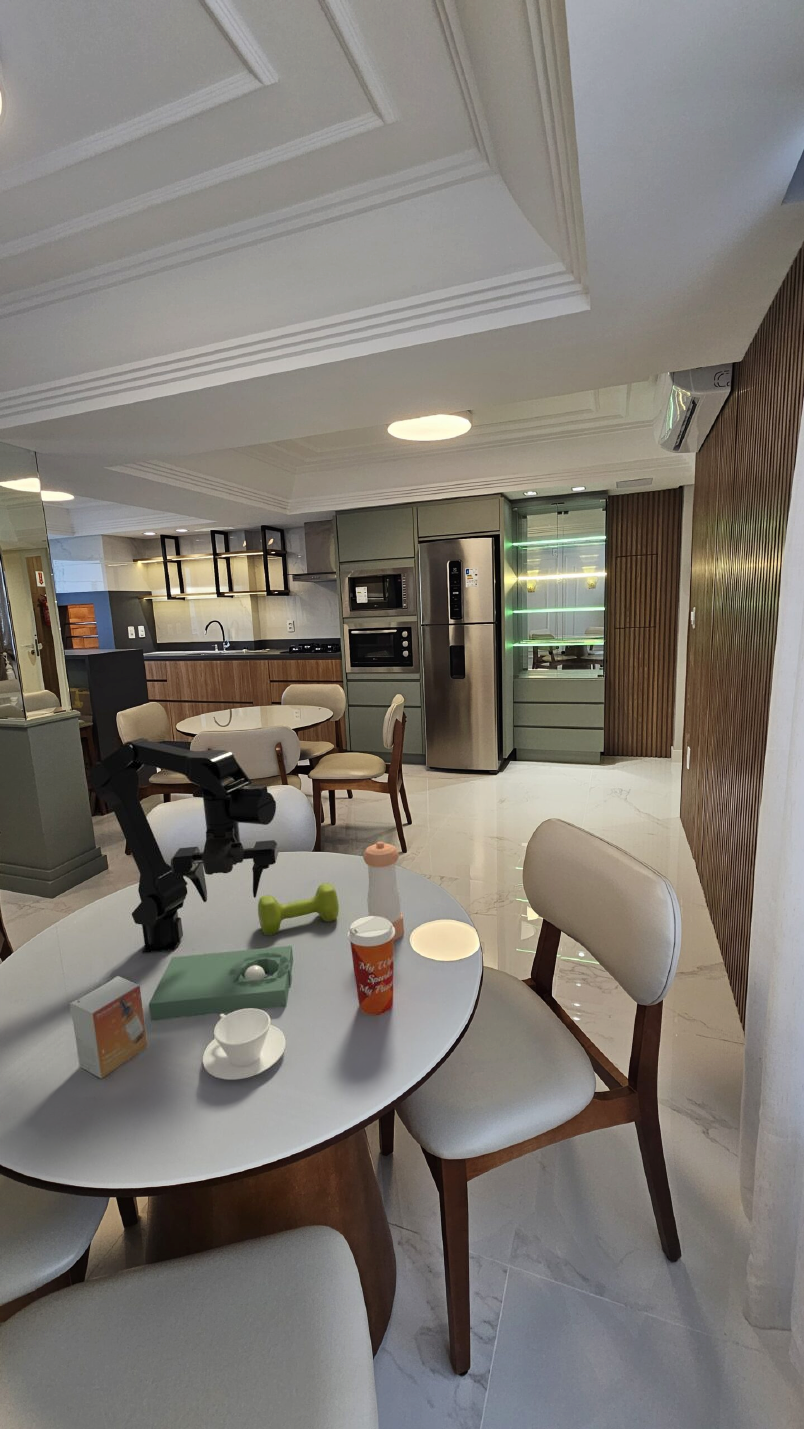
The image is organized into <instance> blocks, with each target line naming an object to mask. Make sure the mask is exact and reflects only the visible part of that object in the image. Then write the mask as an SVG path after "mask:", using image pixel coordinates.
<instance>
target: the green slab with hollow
mask: <svg viewBox="0 0 804 1429" xmlns="http://www.w3.org/2000/svg"><path fill="white" fill-rule="evenodd" d="M254 965H257V966H260V967H262V968H263V970H264V972H265V975H270V976H268V977H265V979H261V980H249V979H245V978H244V974H245V972H246V970H247V969H248V968H249V967H251V966H254ZM293 965H294V954H293V945H287V946H286V945H285V946H275V947H263V948H253V949H244V950H242V949H241V950H233V951H231V950H230V951H224V952H222V951H221V952H213V953H212V952H211V953H201V954H193V955H192V954H191V955H181V956H173V957H171V959H170V961H169V963H168V964H167V967H166V968H165V971H164V972H163V974H162V977H161V979H160V981H159V982H158V985H157V987H156V988H155V990H154V992H153V995H152V996H151V999H150V1001H149V1002H148V1009H149V1015H150V1021H159V1020H165V1019H166V1020H168V1019H177V1018H189V1017H196V1016H197V1017H198V1016H206V1015H215V1014H226V1013H232V1012H234V1011H237V1010H241V1009H248V1008H253V1009H260V1010H265V1009H273V1008H274V1009H275V1008H281V1007H287V1004H288V998H289V997H288V996H289V991H290V986H292V980H293V975H292V970H293Z"/></svg>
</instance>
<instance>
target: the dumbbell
mask: <svg viewBox="0 0 804 1429" xmlns="http://www.w3.org/2000/svg"><path fill="white" fill-rule="evenodd" d="M338 899H339V898H338V894H337V891H336V889H335V887H334V886H333V884H332V883H329V882H327V883H325V882H324V883H322V884H320V885H318V888H317V889H316V892H315V894H314V896H313V897H311V898H305V899H299V900H295V901H291V902H288V903H284V904H282V903H280V902H278V901H277V899H276V898H275V897H274V896H273V895H270V894H268V895H262V896H261V897H259V900H258V905H257V912H258V914H257V915H258V922H259V925H260V928H261V931H262V932H263V934H264V935H265V936H271V935H275V934H277V933H278V932H279V931H280V927H281V924H282V922H283V920H286V919H293V918H297V917H301V916H305V915H306V916H307V915H311V914H313V913H317V914H318V915H319V916H320V917H321V919H322V920H323V921H324V922H332V921H335V920H337V918H338V916H339V910H340V909H339V908H340V906H339V900H338Z"/></svg>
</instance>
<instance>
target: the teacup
mask: <svg viewBox="0 0 804 1429" xmlns="http://www.w3.org/2000/svg"><path fill="white" fill-rule="evenodd" d="M219 1019H220V1020H218V1021H217V1023H216V1024H215V1027H214V1028H213V1037H214V1039H213V1040H211V1042H209V1044H207V1047H206V1048H205V1050H204V1052H203V1057H202V1062H203V1066H204V1067H203V1068H204V1069H205V1070H206V1072H207V1073H208V1074H210V1075H212V1076H213V1077H215V1078H218V1079H222V1080H235V1081H236V1080H241V1079H242V1080H243V1079H247V1078H251V1077H253V1076H256V1075H259V1074H261V1073H263V1072H265V1071H266V1070H268V1069H270V1068H271V1067H273V1065H274V1064H276V1063H277V1062H278V1061H279V1059H280V1058H281V1056H282V1055H283V1054H284V1051H285V1049H286V1046H287V1044H286V1042H287V1040H286V1037H285V1035H284V1032H283V1031H282V1030H281V1029H279V1028H278V1027H276V1026H274V1025H272V1024H271V1022H272V1021H271V1017H270V1015H269V1014H268V1013H267V1012H266V1011H264V1009H253V1008H248V1009H241V1010H237V1011H234V1012H229V1013H228V1014H226V1015H225V1013H220V1014H219Z"/></svg>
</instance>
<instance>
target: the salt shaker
mask: <svg viewBox="0 0 804 1429" xmlns="http://www.w3.org/2000/svg"><path fill="white" fill-rule="evenodd" d="M399 856H400V853H399V851H398V849H397V847H395V846H394V845H393V844H390V843H385V842H383V841H377V843H375V844H372V845H369V846H367V847H366V848H365V850H364V852H363V856H362V857H363V862H364V863H365V865H367V869H368V892H367V910H368V912H367V913H368V915H367V917H369V916H378V917H383V918H386V919H387V920H389V921H390V922H391V923H392V924H393V927H394V928H395V935H394V937H393V941H396V940H398V939H400V938H401V937H402V936H403V935H404V932H405V928H404V927H405V926H404V925H405V924H404V915H403V913H402V910H401V909H402V907H401V906H402V905H401V902H402V901H401V896H400V892H399V886H398V882H397V870H396V869H397V868H396V863H397V861H398V860H399Z"/></svg>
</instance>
